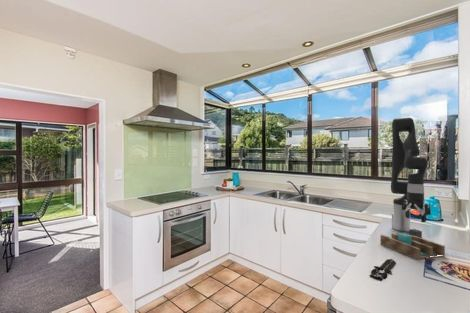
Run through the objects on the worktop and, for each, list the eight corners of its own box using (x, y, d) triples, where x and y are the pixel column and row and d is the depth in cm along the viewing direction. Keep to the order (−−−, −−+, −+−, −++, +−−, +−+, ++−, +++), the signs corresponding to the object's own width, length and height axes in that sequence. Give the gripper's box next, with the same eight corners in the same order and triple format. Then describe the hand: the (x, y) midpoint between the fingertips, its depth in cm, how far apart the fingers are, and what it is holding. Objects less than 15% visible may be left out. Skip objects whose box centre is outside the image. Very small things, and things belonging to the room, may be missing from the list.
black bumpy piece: (388, 259, 106) (388, 256, 106) (405, 264, 101) (405, 261, 101) (364, 275, 91) (364, 272, 91) (382, 282, 86) (382, 279, 86)
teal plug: (398, 247, 118) (398, 233, 118) (403, 246, 119) (403, 233, 119) (405, 250, 114) (405, 236, 114) (411, 249, 115) (411, 235, 115)
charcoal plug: (409, 241, 129) (409, 229, 129) (414, 240, 130) (414, 228, 130) (416, 244, 125) (416, 231, 125) (421, 243, 126) (421, 231, 126)
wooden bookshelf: (380, 243, 125) (380, 234, 125) (404, 241, 129) (404, 232, 129) (417, 259, 105) (417, 249, 105) (444, 255, 110) (444, 245, 110)
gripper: (398, 190, 133) (398, 217, 133) (424, 193, 120) (423, 223, 119) (408, 190, 135) (408, 216, 135) (434, 193, 121) (434, 223, 121)
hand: (415, 220), depth 127 cm, fingers open, 8 cm apart
